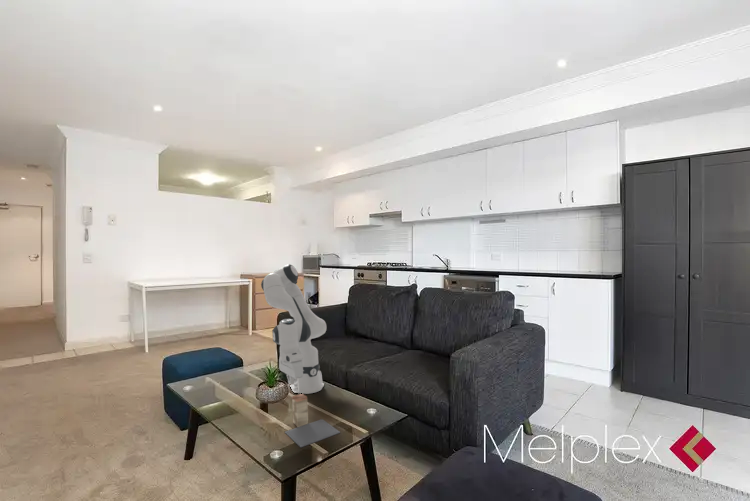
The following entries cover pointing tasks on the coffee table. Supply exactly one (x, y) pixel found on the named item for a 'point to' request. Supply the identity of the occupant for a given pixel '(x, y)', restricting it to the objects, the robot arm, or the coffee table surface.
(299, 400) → the birch block
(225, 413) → the coffee table surface
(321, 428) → the rubber mat
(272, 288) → the robot arm
